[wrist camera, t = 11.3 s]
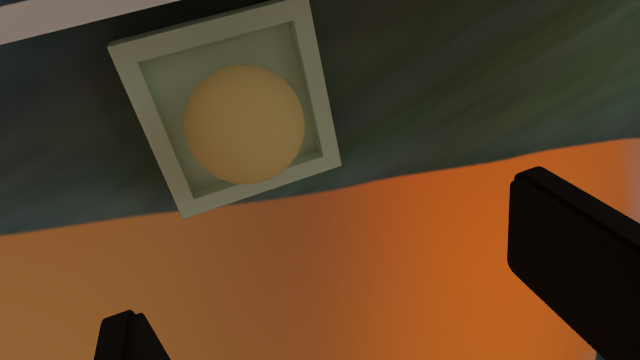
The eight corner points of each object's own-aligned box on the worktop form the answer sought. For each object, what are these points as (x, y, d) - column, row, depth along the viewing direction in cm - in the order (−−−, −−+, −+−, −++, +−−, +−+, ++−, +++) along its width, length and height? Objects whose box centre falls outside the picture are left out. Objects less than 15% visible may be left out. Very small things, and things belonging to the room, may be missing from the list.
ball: (275, 41, 23) (303, 64, 18) (299, 139, 26) (329, 183, 21) (166, 70, 22) (163, 103, 17) (203, 169, 25) (210, 222, 20)
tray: (298, -7, 23) (307, -5, 22) (332, 154, 28) (341, 165, 27) (110, 41, 22) (106, 47, 20) (181, 204, 27) (182, 219, 25)
